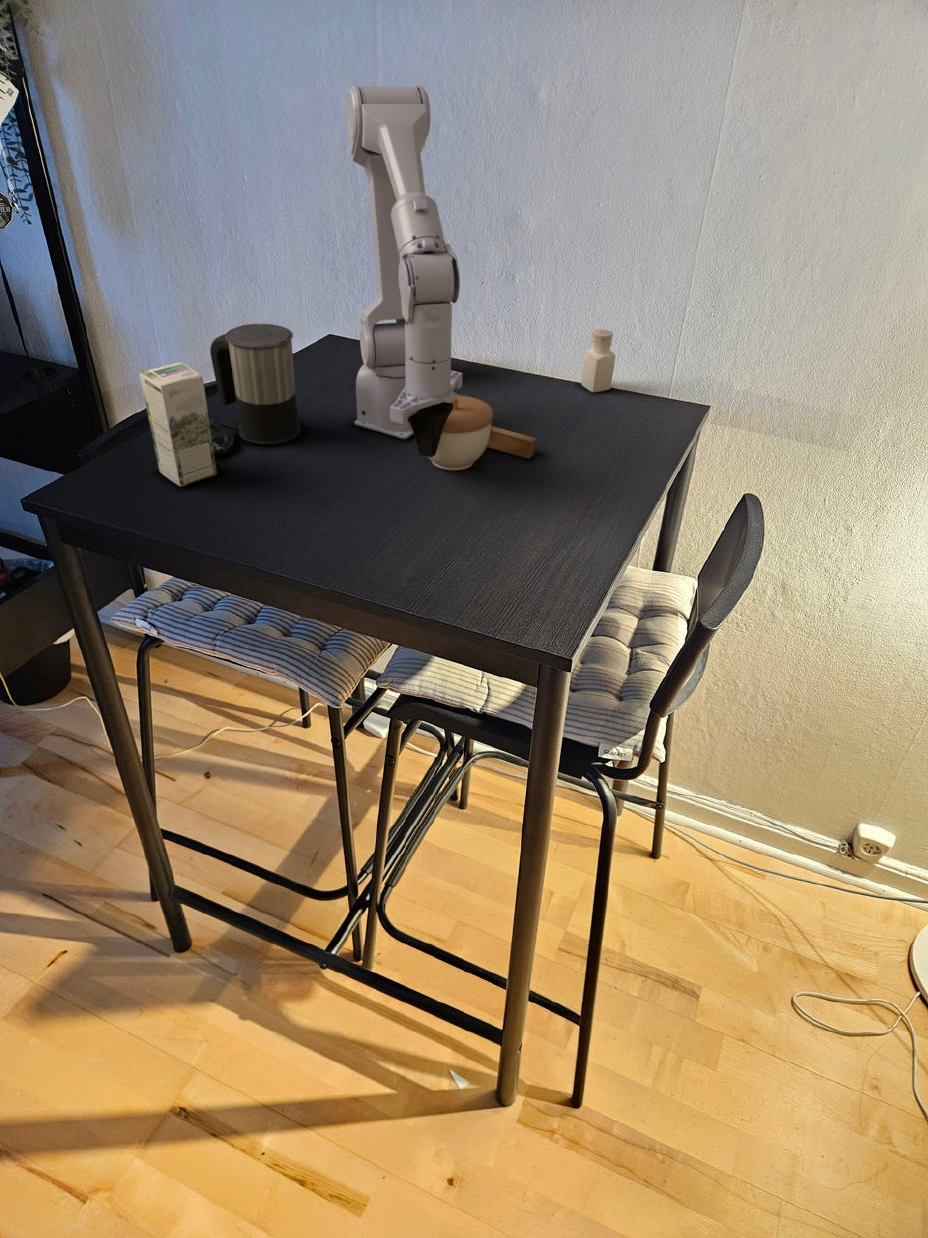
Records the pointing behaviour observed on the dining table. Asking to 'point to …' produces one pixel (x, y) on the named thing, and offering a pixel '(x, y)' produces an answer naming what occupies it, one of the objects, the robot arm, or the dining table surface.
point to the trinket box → (464, 434)
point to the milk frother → (256, 384)
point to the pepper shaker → (598, 362)
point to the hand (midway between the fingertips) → (427, 454)
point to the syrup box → (179, 423)
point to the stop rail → (511, 442)
